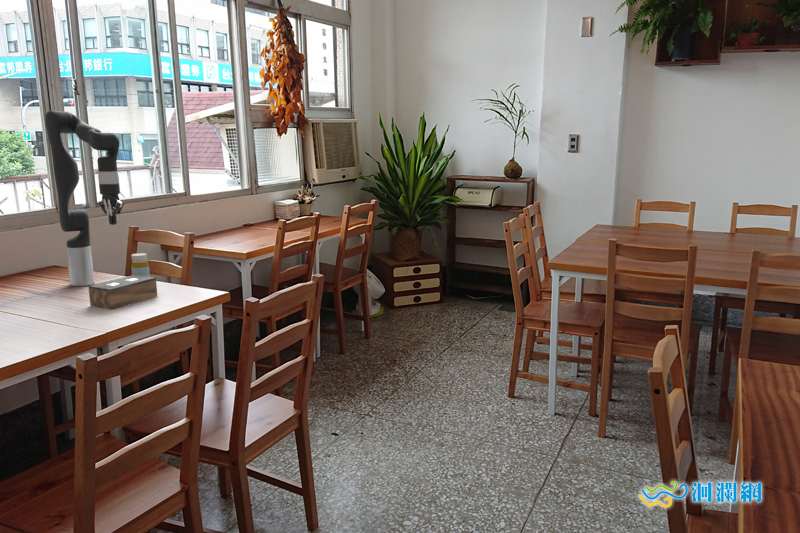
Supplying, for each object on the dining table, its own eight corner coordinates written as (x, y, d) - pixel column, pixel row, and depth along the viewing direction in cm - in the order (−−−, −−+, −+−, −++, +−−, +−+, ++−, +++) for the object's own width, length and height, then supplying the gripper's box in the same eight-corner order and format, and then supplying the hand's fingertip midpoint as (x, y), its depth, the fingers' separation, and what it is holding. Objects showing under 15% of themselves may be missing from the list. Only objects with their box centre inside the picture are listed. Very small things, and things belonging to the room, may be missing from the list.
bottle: (138, 290, 256) (135, 256, 253) (130, 288, 260) (127, 254, 257) (153, 287, 261) (150, 254, 258) (145, 285, 265) (142, 252, 262)
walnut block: (90, 305, 233) (88, 285, 231) (136, 292, 252) (135, 274, 251) (111, 309, 228) (109, 289, 226) (157, 296, 247) (155, 277, 245)
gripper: (89, 182, 244) (94, 224, 247) (112, 183, 238) (116, 226, 242) (105, 181, 250) (109, 222, 254) (128, 182, 245) (131, 224, 248)
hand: (113, 224), depth 248 cm, fingers closed
